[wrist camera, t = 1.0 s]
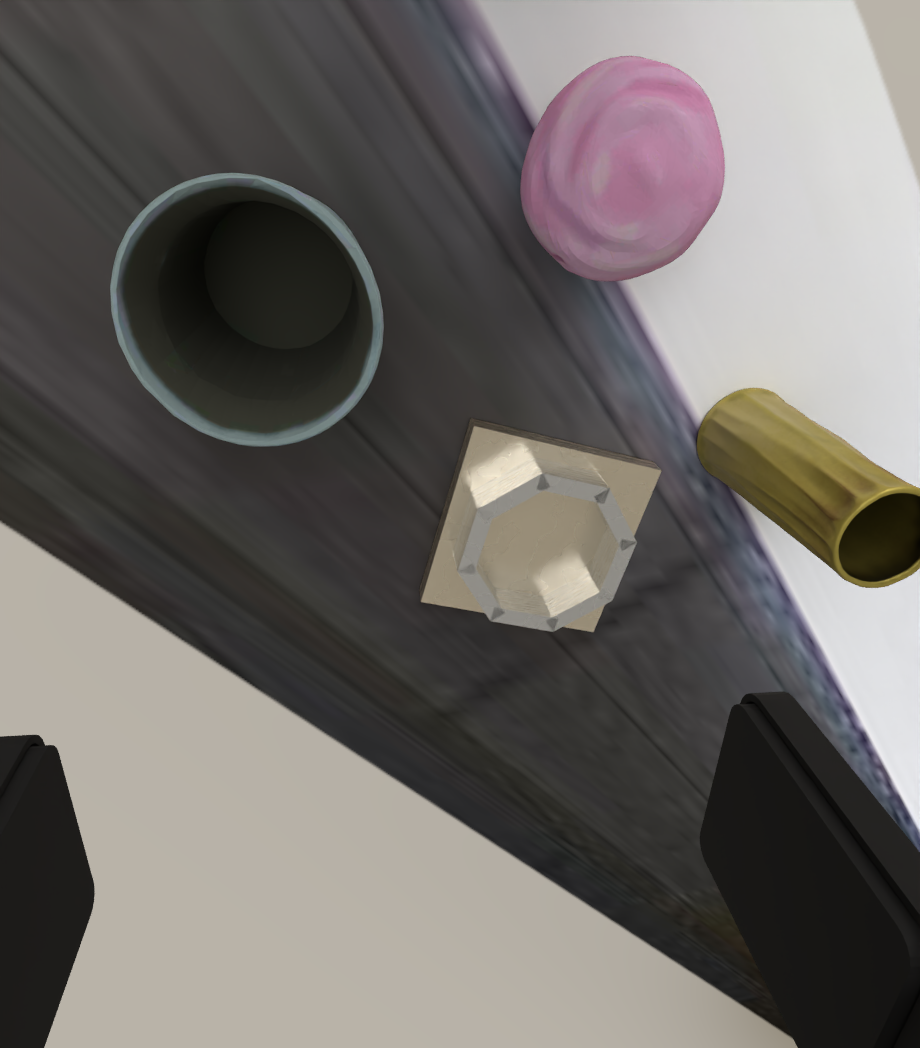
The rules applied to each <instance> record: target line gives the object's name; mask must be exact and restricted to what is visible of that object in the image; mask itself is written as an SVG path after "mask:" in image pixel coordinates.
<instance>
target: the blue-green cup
mask: <svg viewBox="0 0 920 1048" xmlns="http://www.w3.org/2000/svg"><path fill="white" fill-rule="evenodd" d="M110 291H111V311H112V316H113V321H114V326H115V330H116V334H117V338H118V342H119V344H120V346H121V348H122V350H123V352H124V354H125V357H126V359H127V361H128V363H129V365H130V367H131V369H132V370H133V372H134V373H135V375H136V376H137V377H138V379H139V380H140V381H141V383H142V384H143V386H144V387H145V388H146V389H147V390H148V391H149V392H150V393H151V394H152V395H153V396H154V397H155V398H156V399H157V400H158V401H159V402H160V403H161V404H162V405H163V406H164V407H165V408H166V409H167V410H168V411H169V412H171V413H172V414H173V415H174V416H175V417H177V418H178V419H180V420H182V421H183V422H185V423H187V424H188V425H190V426H191V427H193V428H195V429H196V430H198V431H200V432H202V433H205V434H207V435H210V436H212V437H214V438H217V439H220V440H224V441H228V442H231V443H235V444H239V445H247V446H280V445H286V444H291V443H295V442H299V441H302V440H305V439H308V438H311V437H313V436H315V435H317V434H320V433H321V432H323V431H325V430H327V429H329V428H330V427H331V426H333V425H334V424H335V423H337V422H338V421H339V420H341V419H342V418H343V417H344V416H346V415H347V414H348V413H349V412H350V411H351V409H352V408H353V407H354V406H355V405H356V404H357V403H358V402H359V400H360V399H361V397H362V396H363V394H364V393H365V392H366V390H367V389H368V387H369V385H370V383H371V381H372V379H373V376H374V374H375V371H376V369H377V366H378V362H379V358H380V354H381V350H382V343H383V330H384V323H383V310H382V304H381V298H380V292H379V289H378V286H377V284H376V281H375V278H374V275H373V272H372V269H371V267H370V265H369V263H368V261H367V259H366V257H365V255H364V253H363V252H362V250H361V248H360V246H359V244H358V242H357V240H356V238H355V237H354V235H353V233H352V232H351V230H350V229H349V228H348V226H347V225H346V224H345V223H344V221H343V220H342V219H341V218H340V217H339V216H338V215H337V214H336V213H335V212H334V211H333V210H332V209H330V208H329V207H328V206H326V205H325V204H323V203H322V202H320V201H318V200H317V199H315V198H313V197H311V196H308V195H306V194H304V193H302V192H300V191H299V190H297V189H295V188H293V187H291V186H289V185H286V184H284V183H281V182H279V181H276V180H273V179H269V178H265V177H262V176H258V175H250V174H242V173H222V174H213V175H207V176H202V177H199V178H195V179H192V180H189V181H186V182H183V183H181V184H179V185H177V186H175V187H173V188H171V189H169V190H168V191H166V192H165V193H163V194H161V195H160V196H159V197H157V198H156V199H155V200H154V201H152V202H151V203H150V204H149V205H148V206H147V207H146V208H145V209H144V210H143V211H142V212H141V213H140V214H139V215H138V216H137V218H136V219H135V220H134V221H133V223H132V224H131V225H130V227H129V228H128V230H127V232H126V234H125V236H124V238H123V240H122V242H121V244H120V246H119V248H118V250H117V254H116V258H115V262H114V266H113V270H112V278H111V285H110Z"/></svg>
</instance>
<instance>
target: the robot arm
mask: <svg viewBox="0 0 920 1048" xmlns="http://www.w3.org/2000/svg"><path fill="white" fill-rule="evenodd" d="M700 845H701V851H702V854H703V857H704V860H705V862H706V864H707V866H708V868H709V870H710V872H711V874H712V876H713V878H714V880H715V882H716V884H717V886H718V888H719V890H720V892H721V894H722V896H723V898H724V900H725V902H726V904H727V906H728V908H729V910H730V912H731V914H732V916H733V918H734V920H735V922H736V924H737V926H738V928H739V931H740V933H741V935H742V937H743V939H744V941H745V943H746V945H747V947H748V949H749V951H750V953H751V955H752V957H753V959H754V961H755V963H756V965H757V967H758V969H759V971H760V973H761V975H762V977H763V979H764V981H765V983H766V985H767V987H768V989H769V991H770V993H771V995H772V997H773V999H774V1001H775V1003H776V1005H777V1007H778V1009H779V1011H780V1013H781V1015H782V1017H783V1019H784V1021H785V1023H786V1025H787V1027H788V1029H789V1031H790V1033H791V1035H792V1037H793V1039H794V1041H795V1043H796V1045H797V1047H798V1048H920V852H919V851H918V850H917V848H916V847H915V846H914V845H913V844H912V842H911V841H910V840H909V839H908V837H907V836H906V835H905V834H904V833H903V831H902V830H901V829H900V828H899V826H898V825H897V824H896V823H895V821H894V820H893V819H892V818H891V817H890V815H889V814H888V813H887V812H886V810H885V809H884V808H883V807H882V805H881V804H880V803H879V802H878V801H877V799H876V798H875V797H874V796H873V794H872V793H871V792H870V791H869V790H868V788H867V787H866V786H865V785H864V783H863V782H862V781H861V780H860V778H859V777H858V776H857V775H856V774H855V772H854V771H853V770H852V769H851V767H850V766H849V765H848V764H847V762H846V761H845V760H844V759H843V758H842V756H841V755H840V754H839V753H838V751H837V750H836V749H835V748H834V747H833V745H832V744H831V743H830V742H829V740H828V739H827V738H826V737H825V735H824V734H823V733H822V732H821V731H820V729H819V728H818V727H817V726H816V724H815V723H814V722H813V721H812V719H811V718H810V717H809V716H808V715H807V713H806V712H805V711H804V710H803V708H802V707H801V706H800V705H799V704H798V702H797V701H796V700H795V699H794V698H793V697H792V696H791V695H790V694H789V693H786V692H768V693H751V694H746V695H745V696H744V697H743V698H742V700H741V703H740V704H737V705H734V706H733V707H732V709H731V712H730V715H729V719H728V723H727V727H726V731H725V735H724V739H723V744H722V748H721V752H720V756H719V760H718V764H717V768H716V772H715V776H714V780H713V784H712V788H711V792H710V796H709V800H708V804H707V808H706V812H705V816H704V820H703V824H702V828H701V832H700ZM93 903H94V882H93V878H92V875H91V871H90V867H89V864H88V860H87V856H86V852H85V849H84V845H83V842H82V838H81V834H80V830H79V826H78V823H77V819H76V815H75V812H74V808H73V804H72V800H71V797H70V793H69V790H68V786H67V782H66V778H65V775H64V771H63V767H62V764H61V760H60V756H59V753H58V750H57V748H56V747H55V746H53V745H48V746H47V745H46V746H45V744H44V742H43V739H42V738H41V737H40V736H39V735H22V736H4V737H0V1048H44V1046H45V1044H46V1041H47V1038H48V1035H49V1032H50V1029H51V1026H52V1024H53V1021H54V1018H55V1015H56V1012H57V1010H58V1007H59V1004H60V1001H61V998H62V995H63V992H64V990H65V987H66V984H67V981H68V978H69V975H70V973H71V970H72V967H73V964H74V961H75V958H76V956H77V952H78V950H79V947H80V944H81V941H82V938H83V936H84V933H85V930H86V927H87V924H88V921H89V919H90V916H91V912H92V909H93Z"/></svg>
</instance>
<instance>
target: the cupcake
mask: <svg viewBox="0 0 920 1048" xmlns="http://www.w3.org/2000/svg"><path fill="white" fill-rule="evenodd" d="M724 172H725V164H724V152H723V147H722V141H721V136H720V132H719V128H718V124H717V121H716V117H715V114H714V111H713V108H712V105H711V103H710V100H709V98H708V96H707V95H706V94H705V92H704V91H703V89H702V88H701V87H700V86H699V85H698V84H697V83H696V82H695V81H694V80H693V79H692V78H691V77H689V76H688V75H686V74H685V73H683V72H682V71H680V70H679V69H677V68H674V67H672V66H670V65H668V64H664V63H661V62H657V61H653V60H649V59H645V58H642V57H636V56H621V57H616V58H610V59H607V60H604V61H601V62H599V63H597V64H595V65H593V66H591V67H589V68H588V69H586V70H585V71H583V72H582V73H581V74H579V75H578V76H577V77H576V78H574V79H573V80H572V81H571V82H570V83H569V84H568V85H567V86H565V87H564V88H563V89H562V90H561V91H560V92H559V94H558V95H557V96H556V97H555V98H554V99H553V101H552V102H551V103H550V104H549V106H548V107H547V109H546V111H545V113H544V114H543V116H542V118H541V120H540V122H539V123H538V125H537V127H536V129H535V131H534V133H533V136H532V138H531V141H530V143H529V147H528V150H527V154H526V157H525V161H524V165H523V168H522V174H521V187H520V194H521V202H522V209H523V212H524V215H525V218H526V221H527V223H528V225H529V227H530V229H531V231H532V233H533V234H534V236H535V237H536V239H537V240H538V242H539V243H540V244H541V245H542V246H543V247H544V248H545V250H546V251H547V252H548V253H549V254H550V255H551V256H552V257H553V258H554V259H555V260H557V261H558V262H559V263H560V264H561V265H562V266H563V267H564V268H565V269H566V270H568V271H570V272H572V273H574V274H576V275H579V276H581V277H584V278H587V279H591V280H596V281H620V280H627V279H631V278H635V277H638V276H641V275H644V274H646V273H649V272H652V271H654V270H656V269H658V268H661V267H663V266H665V265H667V264H668V263H670V262H672V261H674V260H675V259H676V258H678V257H679V256H681V255H682V254H683V253H684V252H685V251H686V250H687V249H688V248H689V247H690V245H691V244H692V243H693V242H694V240H695V239H696V237H697V236H698V235H699V233H700V232H701V230H702V229H703V227H704V226H705V224H706V223H707V222H708V220H709V219H710V217H711V216H712V214H713V213H714V211H715V209H716V208H717V206H718V203H719V201H720V198H721V194H722V190H723V183H724Z"/></svg>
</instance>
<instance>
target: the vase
mask: <svg viewBox="0 0 920 1048" xmlns="http://www.w3.org/2000/svg"><path fill="white" fill-rule="evenodd" d="M697 451H698V456H699V459H700V461H701V463H702V465H703V466H704V468H705V469H706V470H707V471H708V472H709V473H710V474H711V475H712V476H714V477H717V478H718V479H720V480H721V481H722V482H723V483H725V484H726V485H727V486H729V487H730V488H731V489H733V490H734V491H735V492H737V493H738V494H739V495H741V496H742V497H743V498H744V499H746V500H747V501H748V502H749V503H751V504H752V505H753V506H754V507H756V508H757V509H758V510H759V511H761V512H762V513H763V514H764V515H766V516H767V517H768V518H769V519H771V520H772V521H773V522H775V523H776V524H777V525H779V526H780V527H781V528H782V529H783V530H785V531H786V532H787V533H788V534H790V535H791V536H792V537H793V538H795V539H796V540H797V541H798V542H800V543H801V544H802V545H803V546H805V547H806V548H807V549H808V550H810V551H811V552H812V553H813V554H815V555H816V556H817V557H818V558H820V559H821V560H822V561H823V562H825V563H826V564H827V565H828V566H829V567H831V568H832V569H833V570H834V571H835V572H836V573H837V574H838V575H839V576H840V577H842V578H843V579H844V580H846V581H849V582H851V583H853V584H855V585H858V586H861V587H866V588H879V587H885V586H889V585H891V584H894V583H896V582H898V581H900V580H903V579H905V578H907V577H908V576H910V575H912V574H913V573H914V572H916V571H917V570H918V569H919V568H920V488H918V487H915V486H913V485H911V484H909V483H907V482H905V481H903V480H902V479H900V478H898V477H896V476H895V475H893V474H891V473H890V472H888V471H886V470H885V469H883V468H881V467H880V466H878V465H876V464H875V463H873V462H872V461H870V460H869V459H868V458H867V457H865V456H864V455H863V454H862V453H860V452H859V451H858V450H857V449H855V448H854V447H852V446H851V445H850V444H849V443H847V442H846V441H845V440H844V439H842V438H841V437H839V436H837V435H835V434H834V433H832V432H831V431H829V430H827V429H825V428H824V427H822V426H820V425H818V424H817V423H815V422H814V421H812V420H810V419H809V418H807V417H806V416H805V415H804V414H802V413H801V412H799V411H798V410H797V409H795V408H794V407H792V406H791V405H789V404H787V403H786V402H785V401H784V400H783V399H782V398H780V397H779V396H778V395H777V394H775V393H774V392H771V391H769V390H766V389H760V388H748V389H742V390H739V391H736V392H734V393H732V394H730V395H728V396H726V397H725V398H723V399H722V400H720V401H719V402H718V403H717V404H715V405H714V407H713V408H712V409H711V410H710V411H709V412H708V414H707V415H706V417H705V418H704V420H703V422H702V424H701V427H700V429H699V433H698V438H697Z"/></svg>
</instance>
